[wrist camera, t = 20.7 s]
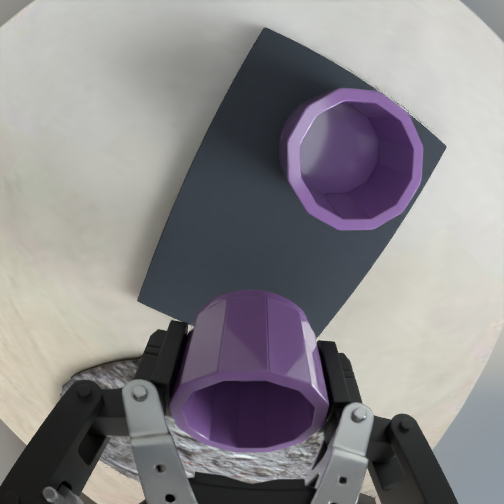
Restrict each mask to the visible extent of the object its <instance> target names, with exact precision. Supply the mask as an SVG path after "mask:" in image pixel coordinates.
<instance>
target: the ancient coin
mask: <svg viewBox="0 0 504 504" xmlns="http://www.w3.org/2000/svg"><path fill="white" fill-rule="evenodd" d="M140 361H141V358H140V359H136V360H124V361H119V362H114V363H109V364H105V365H102V366H99V367H96V368H92V369H89V370H86V371H82V372H79V373H78V374H77V375H75V376H73V377H71V380H70V382H69V383H67V384H65V385H64V386H63V387H62V393H61V398H62V396H63V395H64V394H65V392H66V391H67V390H68V388H69V387H70V386H71V385H72V384H73V383H74V382H76V381H78V380H82V379H88V380H92V381H94V382H96V383H97V384H98V385H99V386H100V388H101V389H117V388H122V387H124V386H125V385H126V384H127V383H128V382H130V381H132V380H133V378H134V376H135V373H136V371H137V368H138V366H139V363H140ZM165 419H166V422H167V425H168V429H169V431H170V433H171V434H172V436H173V439H174V442H175V445H176V448H177V451H178V453H179V456H180V459H181V462H182V465H183V467H184V470H185V473H186V475H187V478H189V477H194V475H195V471H196V472H202V473H210V474H217V475H224V476H227V477H230V478H233V479H236V480H239V481H243V482H246V483H251V484H252V483H259V482H265V481H270V480H275V479H305V478H306V476H307V475H308V473H309V470H310V468H311V466H312V464H313V461H314V459H315V456H316V454H317V452H318V449H319V447H320V444H321V442H322V440H323V439H324V433H323V432H316V433H315V434H313V435H312V436H311V437H309V438H308V439H307V440H305V441H304V442H302V443H300V444H297V445H294V446H291V447H287V448H284V449H280V450H276V451H273V452H257V453H239V452H231V451H227V450H223V449H219V448H215V447H212V446H208V445H205V444H203V443H200V442H199V441H197V440H195V439H194V438H192V437H191V436H189V435H188V434H186V433H185V432H184V431H182V430H181V429H179V428H178V427H177V425H176V423H175V421H174V418H173V416H171V417H167V416H165ZM99 460H100V461H102V462H104V463H105V464H107V465H109V466H111V467H112V468H114V469H115V470H117V471H118V472H120V473H121V474H123V475H125V476H127V477H129V478H131V479H133V480H136V481H138V482H140V479H139V475H138V471H137V468H136V464H135V460H134V456H133V452H132V447H131V443H130V436H114V437H111V439H110V441H109V443H108V444H107V446H106V448H105V450H104V452H103V453H102V455H101V457H100V459H99ZM140 483H141V482H140Z"/></svg>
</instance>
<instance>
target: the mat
mask: <svg viewBox="0 0 504 504" xmlns="http://www.w3.org/2000/svg"><path fill="white" fill-rule="evenodd" d="M339 88H352V89H363V90H373V91H377V90H376V89H374V88H373V87H371V86H370V85H368V84H367V83H365V82H364V81H362V80H361V79H359V78H358V77H356V76H355V75H353V74H352V73H350V72H348V71H347V70H345V69H344V68H342V67H340V66H339V65H337V64H335V63H334V62H332V61H330V60H328V59H327V58H325V57H323V56H321V55H320V54H318V53H316V52H314V51H312V50H311V49H309V48H307V47H305V46H303V45H301V44H299V43H297V42H295V41H293V40H291V39H289V38H287V37H285V36H283V35H281V34H279V33H277V32H274V31H272V30H270V29H268V28H264V29H263V30H262V32H261V34H260V35H259V37H258V39H257V40H256V42H255V44H254V45H253V47H252V49H251V50H250V52H249V54H248V56H247V57H246V59H245V61H244V63H243V64H242V66H241V68H240V70H239V71H238V73H237V75H236V77H235V79H234V80H233V82H232V84H231V86H230V88H229V90H228V92H227V93H226V95H225V97H224V99H223V101H222V103H221V105H220V107H219V109H218V111H217V113H216V115H215V117H214V119H213V121H212V122H211V125H210V127H209V129H208V131H207V133H206V135H205V137H204V139H203V141H202V143H201V145H200V147H199V149H198V151H197V153H196V156H195V158H194V160H193V162H192V164H191V166H190V169H189V171H188V173H187V175H186V178H185V180H184V182H183V184H182V187H181V189H180V191H179V194H178V196H177V198H176V201H175V203H174V205H173V208H172V210H171V212H170V215H169V217H168V220H167V222H166V225H165V227H164V230H163V232H162V235H161V237H160V240H159V242H158V245H157V248H156V250H155V253H154V256H153V258H152V261H151V264H150V266H149V269H148V272H147V275H146V277H145V280H144V283H143V286H142V289H141V292H140V294H139V297H138V302H140V303H142V304H144V305H146V306H149V307H151V308H153V309H155V310H157V311H159V312H162V313H164V314H166V315H168V316H171V317H173V318H175V319H177V320H180V321H182V322H185V323H188V324H189V325H192V322H193V319H194V317H195V316H196V314H197V312H198V311H199V310H200V309H201V308H202V307H203V306H204V305H205V304H206V303H208V302H209V301H211V300H212V299H214V298H216V297H218V296H220V295H222V294H225V293H229V292H233V291H238V290H262V291H268V292H272V293H275V294H278V295H281V296H283V297H285V298H287V299H289V300H290V301H292V302H293V303H295V304H296V305H297V306H298V307H299V308H300V309H301V310H302V311H303V312H304V313H305V315H306V316H307V318H308V320H309V322H310V325H311V328H312V330H313V332H314V334H315V338H317V337H318V336H319V335H320V333H321V332H322V331H323V330H324V329H325V327H326V326H327V325H328V324H329V322H330V321H331V320H332V319H333V317H334V316H335V315H336V314H337V312H338V311H339V310H340V309H341V307H342V306H343V305H344V303H345V302H346V301H347V299H348V298H349V297H350V296H351V294H352V293H353V292H354V290H355V289H356V288H357V286H358V285H359V284H360V282H361V281H362V279H363V278H364V277H365V275H366V274H367V273H368V271H369V270H370V268H371V267H372V266H373V264H374V263H375V261H376V260H377V259H378V257H379V256H380V254H381V253H382V251H383V250H384V248H385V247H386V246H387V244H388V243H389V241H390V240H391V238H392V237H393V235H394V234H395V232H396V231H397V229H398V228H399V226H400V224H401V223H402V221H403V220H404V218H405V217H406V215H407V214H408V212H409V210H410V209H411V207H412V206H413V204H414V202H415V201H416V199H417V198H418V196H419V194H420V193H421V191H422V189H423V188H424V186H425V184H426V183H427V181H428V179H429V177H430V176H431V174H432V172H433V170H434V169H435V167H436V165H437V163H438V162H439V160H440V158H441V156H442V154H443V152H444V151H445V149H446V145H444V144H443V143H442V142H441V141H440V140H439V139H438V138H437V137H436V136H434V135H433V134H432V133H431V132H430V131H429V130H428V129H426V128H425V127H424V126H423V125H422V124H420V123H419V122H418V121H417V120H416V119H414V118H413V117H412V116H411V115H409V116H410V118H411V120H412V122H413V124H414V126H415V129H416V131H417V133H418V136H419V138H420V140H421V143H422V145H423V163H422V176H421V182H420V185H419V187H418V189H417V190H416V192H415V194H414V195H413V197H412V199H411V200H410V202H409V203H408V205H407V207H406V208H405V210H404V211H403V212H402V213H401V214H399V215H398V216H396V217H394V218H392V219H391V220H389V221H387V222H386V223H384V224H382V225H381V226H379V227H377V228H375V229H372V230H337V229H335V228H333V227H332V226H330V225H328V224H326V223H324V222H322V221H321V220H319V219H317V218H315V217H313V216H311V215H310V214H308V213H307V212H306V210H305V209H304V207H303V205H302V204H301V202H300V200H299V199H298V197H297V195H296V194H295V192H294V190H293V189H292V187H291V186H290V184H289V182H288V180H287V178H286V176H285V173H284V171H283V169H282V167H281V164H280V153H279V135H280V132H281V130H282V127H283V125H284V123H285V121H286V119H287V118H288V116H289V115H290V114H291V112H292V110H293V109H294V108H295V107H296V106H298V105H300V104H301V103H303V102H305V101H306V100H309V99H311V98H313V97H315V96H316V95H318V94H321V93H325V92H328V91H332V90H335V89H339ZM378 92H379V91H378Z"/></svg>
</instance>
